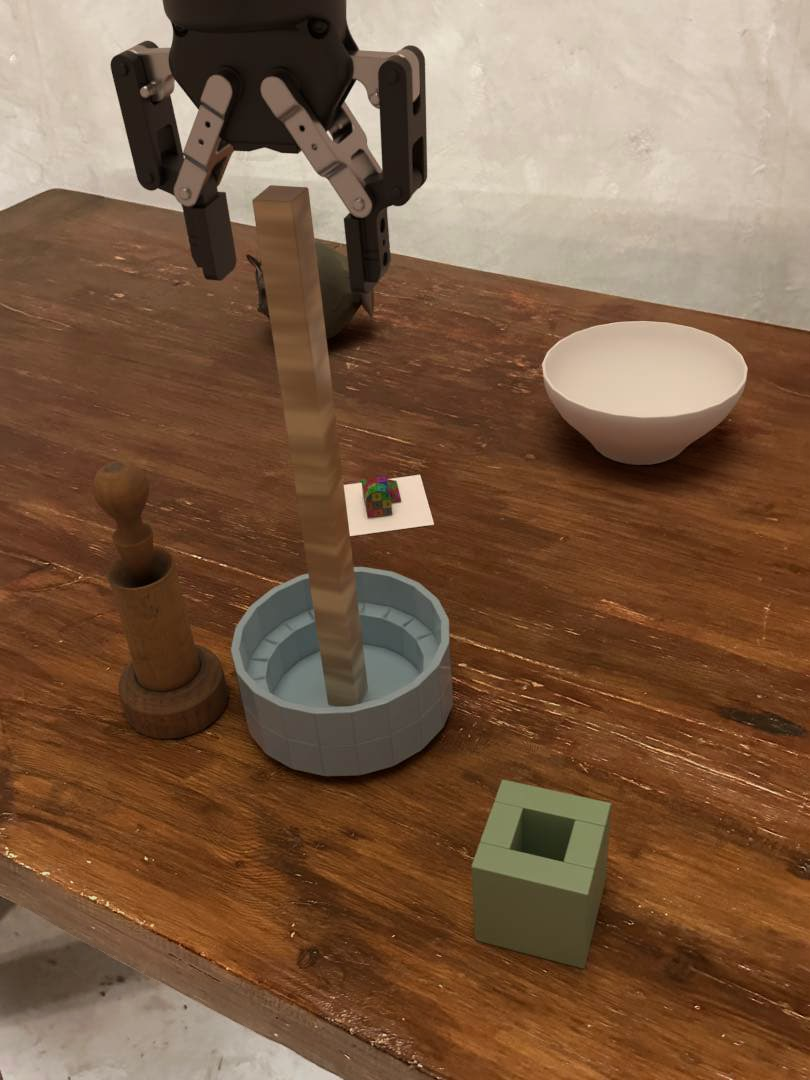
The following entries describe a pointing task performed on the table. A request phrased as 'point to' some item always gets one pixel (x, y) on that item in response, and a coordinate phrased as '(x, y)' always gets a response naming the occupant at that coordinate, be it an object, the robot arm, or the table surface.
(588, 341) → the bowl
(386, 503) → the white board
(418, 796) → the table surface
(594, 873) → the stick holder
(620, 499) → the table surface
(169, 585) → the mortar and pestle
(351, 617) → the stick
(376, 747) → the light blue round container
